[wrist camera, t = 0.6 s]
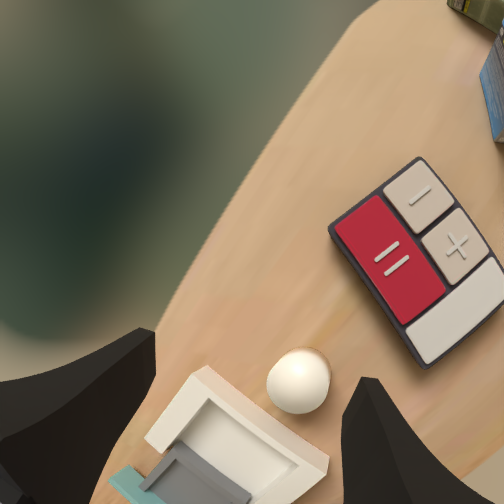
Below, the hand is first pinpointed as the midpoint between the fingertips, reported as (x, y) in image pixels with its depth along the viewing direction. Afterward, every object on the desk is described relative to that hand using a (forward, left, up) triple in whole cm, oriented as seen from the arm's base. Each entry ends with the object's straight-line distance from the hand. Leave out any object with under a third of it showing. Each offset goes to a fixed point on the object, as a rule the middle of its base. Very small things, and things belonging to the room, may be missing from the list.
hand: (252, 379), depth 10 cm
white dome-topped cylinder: (-5, +2, -20) cm, 20 cm away
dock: (-14, +10, -19) cm, 26 cm away
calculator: (+3, -11, -20) cm, 23 cm away
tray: (-20, +16, -18) cm, 32 cm away
